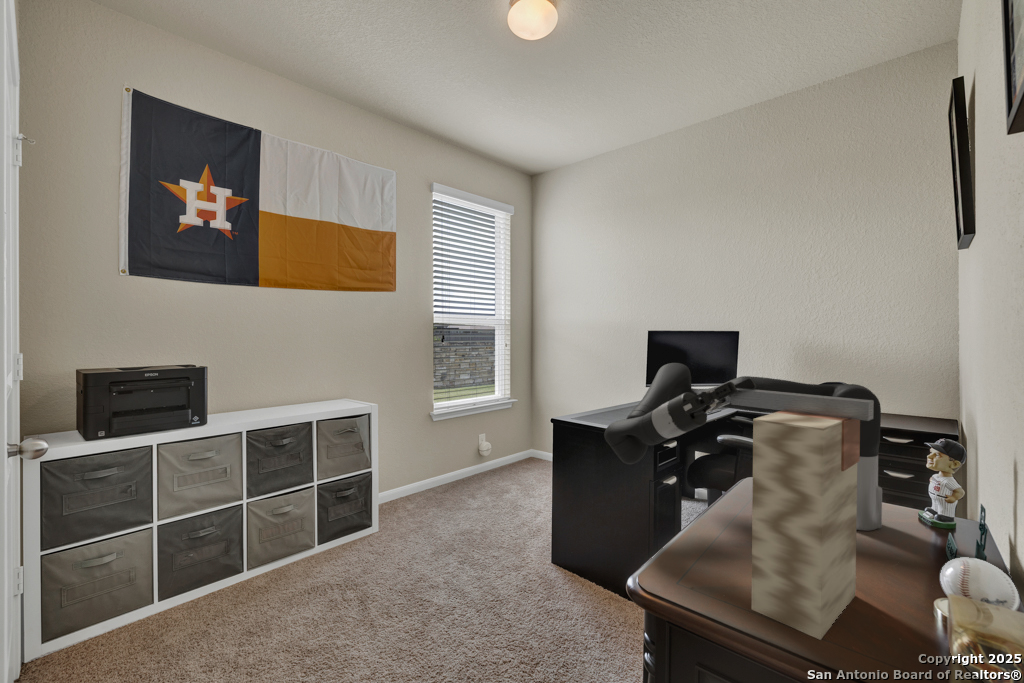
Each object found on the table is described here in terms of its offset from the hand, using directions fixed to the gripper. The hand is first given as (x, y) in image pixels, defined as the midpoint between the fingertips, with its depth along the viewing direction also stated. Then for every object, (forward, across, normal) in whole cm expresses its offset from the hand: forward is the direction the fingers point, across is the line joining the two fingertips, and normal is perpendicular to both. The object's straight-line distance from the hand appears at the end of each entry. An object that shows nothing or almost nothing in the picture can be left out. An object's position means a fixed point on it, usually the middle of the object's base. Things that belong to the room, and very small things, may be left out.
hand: (744, 384), depth 90 cm
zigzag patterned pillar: (-8, +4, -37) cm, 38 cm away
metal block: (+6, -1, -8) cm, 10 cm away
